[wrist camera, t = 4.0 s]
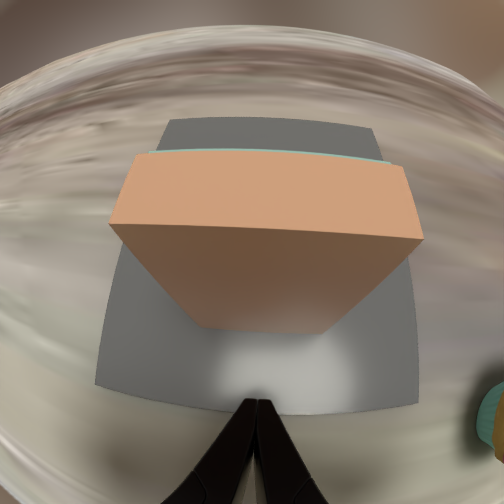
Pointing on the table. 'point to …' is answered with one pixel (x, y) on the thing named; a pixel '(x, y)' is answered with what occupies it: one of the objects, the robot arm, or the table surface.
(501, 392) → the cupcake
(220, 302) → the tile
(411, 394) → the board
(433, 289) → the table surface
